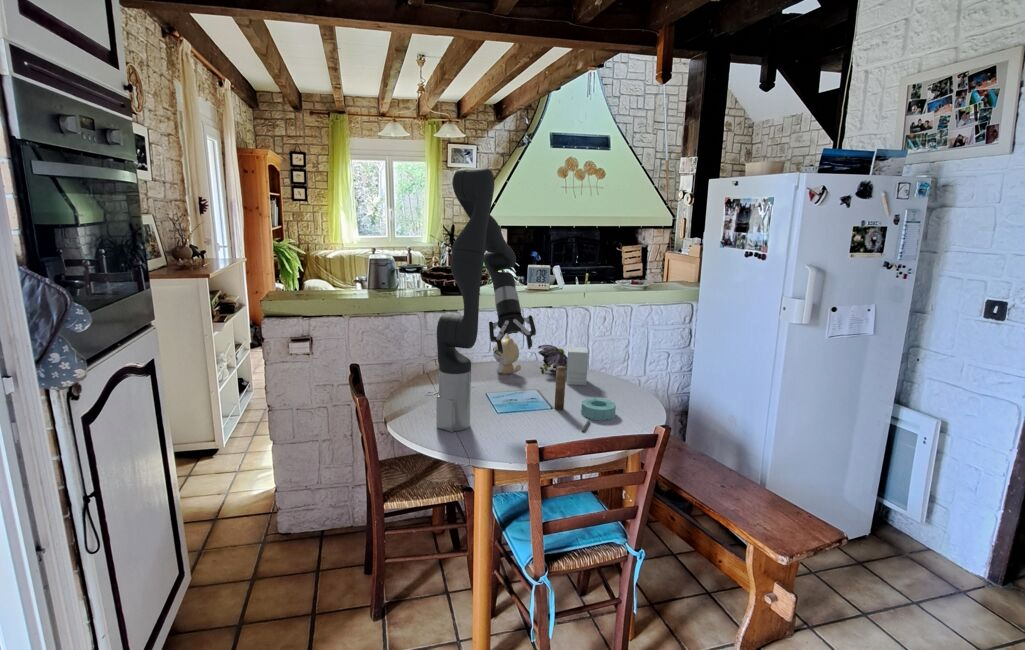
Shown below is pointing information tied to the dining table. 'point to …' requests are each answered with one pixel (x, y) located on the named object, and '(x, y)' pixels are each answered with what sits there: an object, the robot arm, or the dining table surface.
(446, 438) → the dining table surface
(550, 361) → the decorative flower
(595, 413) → the teal ring
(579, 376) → the supplement box
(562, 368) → the brown wooden rod
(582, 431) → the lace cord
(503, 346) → the kitten
